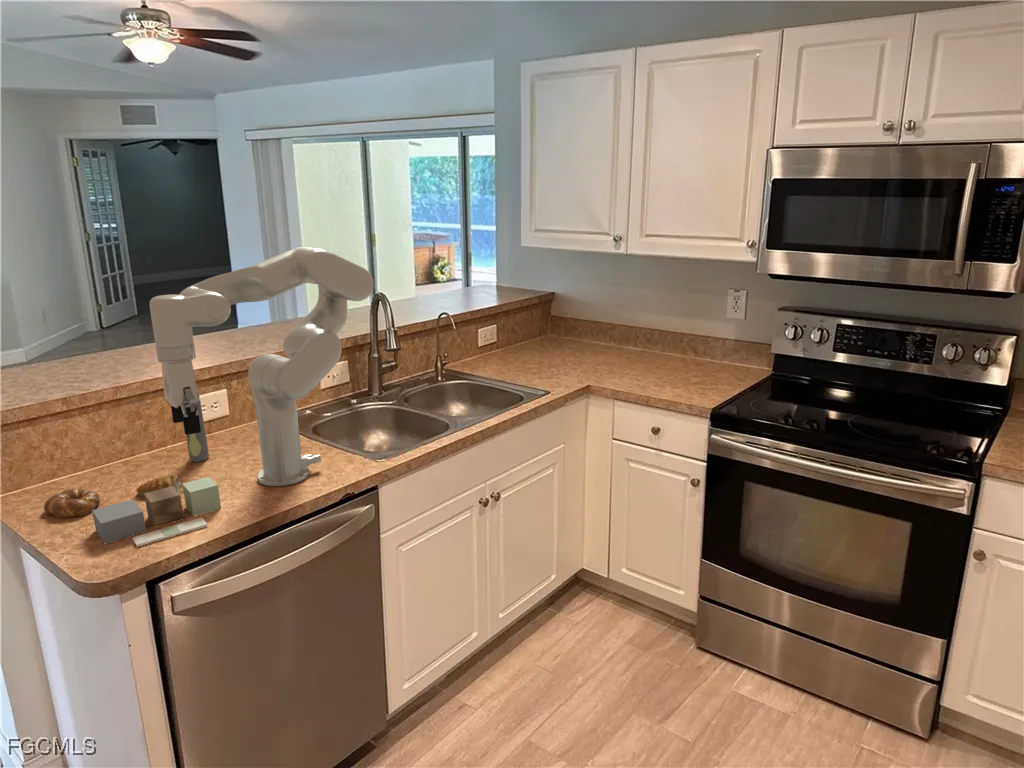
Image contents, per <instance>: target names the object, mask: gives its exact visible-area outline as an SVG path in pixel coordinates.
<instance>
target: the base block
mask: <svg viewBox="0 0 1024 768" xmlns="http://www.w3.org/2000/svg"><path fill="white" fill-rule="evenodd" d="M91 513H92V517H93V521H94V522H93V523H94V527H95V528H94V529H95V531H96V533H97V535H98V536H99V537H100V539H101V540H102V542H103V543H108V544H110V543H109V542H111V543H114V542H113V541H115V542H117V540H118V541H120V539H121V540H124V539H127V538H126V537H128V538H130V537H129V536H131V537H134V536H137V535H136V534H138V535H140V534H139V533H141V534H143V533H142V532H144V533H146V532H145V531H147V528H146V527H147V526H146V521H145V516H144V515H145V514H144V511H143V510H142V509H141V507H140V506H139V504H138V503H137V502H136V501H135V500H134V498H133V499H132V498H131V499H128V500H125V501H121V502H118V503H114V504H110V505H106V506H103V507H99V508H95V509H94V510H92V512H91ZM133 535H134V536H133ZM123 538H124V539H123Z"/></svg>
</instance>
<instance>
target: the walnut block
mask: <svg viewBox="0 0 1024 768" xmlns="http://www.w3.org/2000/svg"><path fill="white" fill-rule="evenodd" d="M144 496H145V497H144V501H145V506H146V513H147V518H148V519H149V521H150V522H152V523H151V524H152V525H153V527H154V528H155V527H156V528H158V527H157V526H159V527H163V526H166V525H169V524H172V523H171V522H173V523H175V522H174V521H176V522H179V521H178V520H180V521H182V520H181V519H183V520H185V516H184V515H185V514H184V510H183V504H182V497H181V494H180V492H178V491H177V490H176V489H175V488H174V487H173V486H171V487H168V488H164V489H160V490H156V491H152V492H148V493H144ZM168 523H169V524H168ZM165 524H166V525H165ZM162 525H163V526H162Z"/></svg>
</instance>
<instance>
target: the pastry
mask: <svg viewBox="0 0 1024 768" xmlns="http://www.w3.org/2000/svg"><path fill="white" fill-rule="evenodd" d="M171 486H173V487H174V488H175V489H176V490H177V491H180V487H181V481H180V479H179V477H178V475H177V474H173V475H170V476H169V475H164V476H159V477H158V478H153V479H152V480H148V481H147V482H144V483H142V484H140V485H139V486H138V487H137V489H136V490H135V491H136V493H137V494H138V495H139V496H140V497H143V496H144V493H148V492H152V491H156V490H160V489H164V488H168V487H171Z"/></svg>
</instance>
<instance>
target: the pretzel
mask: <svg viewBox="0 0 1024 768" xmlns="http://www.w3.org/2000/svg"><path fill="white" fill-rule="evenodd" d="M100 504H101V503H100V494H99V493H98V492H96V491H94V490H89V489H86V488H84V489H83V488H79V489H74V488H72V489H66V490H63V491H61V492H60V493H55V494H53V495H52V496H50V497H49V498H47V499H46V501H45V503H44V504H43V509H44V512H45V514H46V515H49V516H51V517H54V516H55V517H56V518H62V519H71V518H73V517H82V516H86V515H89V514H90V513H92V510H95V509H96V507H98V506H99V505H100Z"/></svg>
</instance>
